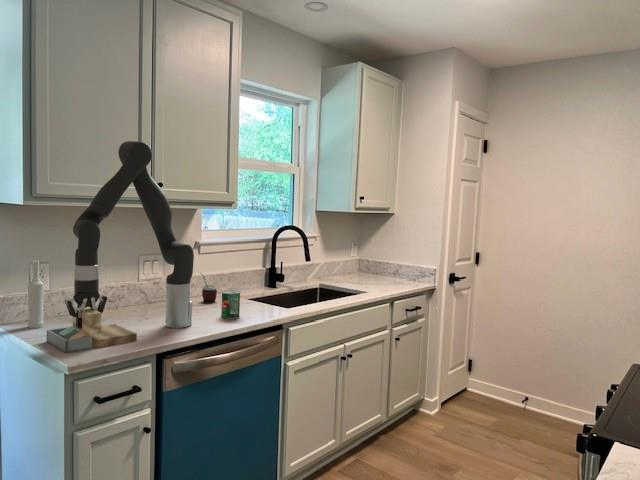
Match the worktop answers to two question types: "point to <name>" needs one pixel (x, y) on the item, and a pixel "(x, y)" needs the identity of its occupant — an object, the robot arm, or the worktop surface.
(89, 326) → the cream wooden beam
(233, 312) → the canned tomato
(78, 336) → the tile
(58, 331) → the box
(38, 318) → the bottle
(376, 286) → the worktop surface
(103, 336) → the board
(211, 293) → the mate gourd
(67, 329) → the tile
